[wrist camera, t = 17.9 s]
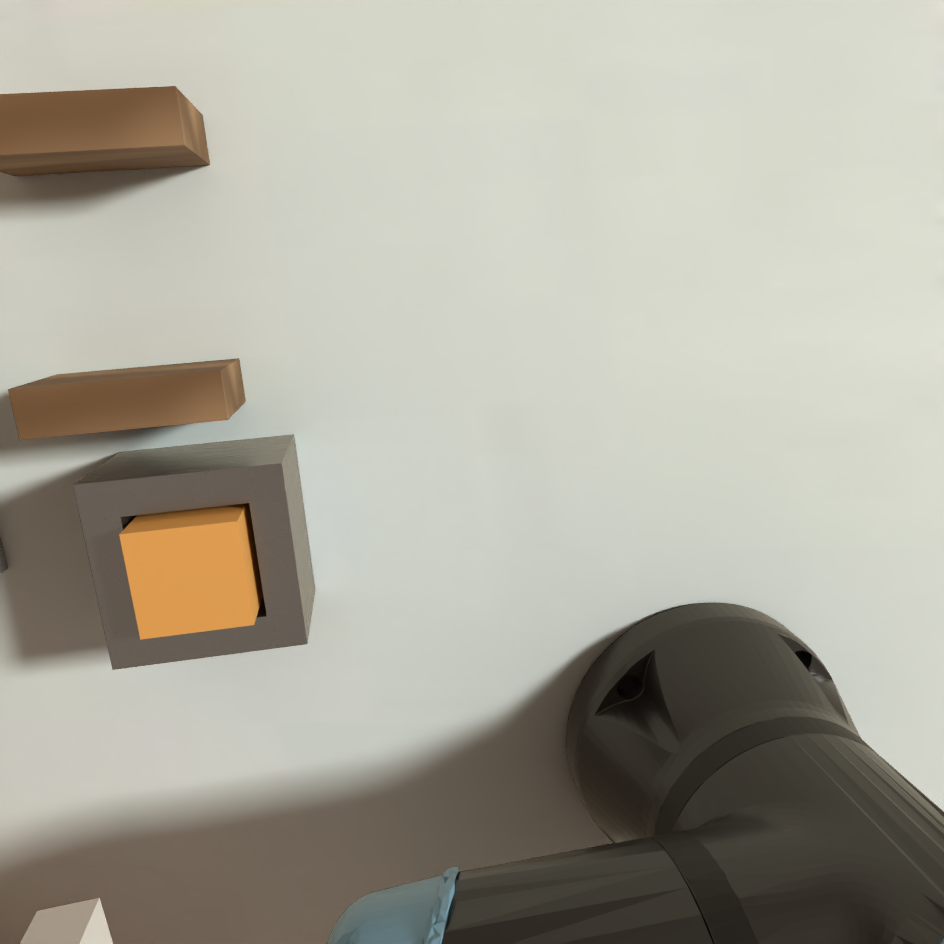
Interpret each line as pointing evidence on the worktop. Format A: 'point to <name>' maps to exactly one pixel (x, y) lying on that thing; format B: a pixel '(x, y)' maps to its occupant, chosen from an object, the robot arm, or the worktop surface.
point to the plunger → (192, 570)
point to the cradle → (105, 149)
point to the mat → (2, 560)
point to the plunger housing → (191, 487)
